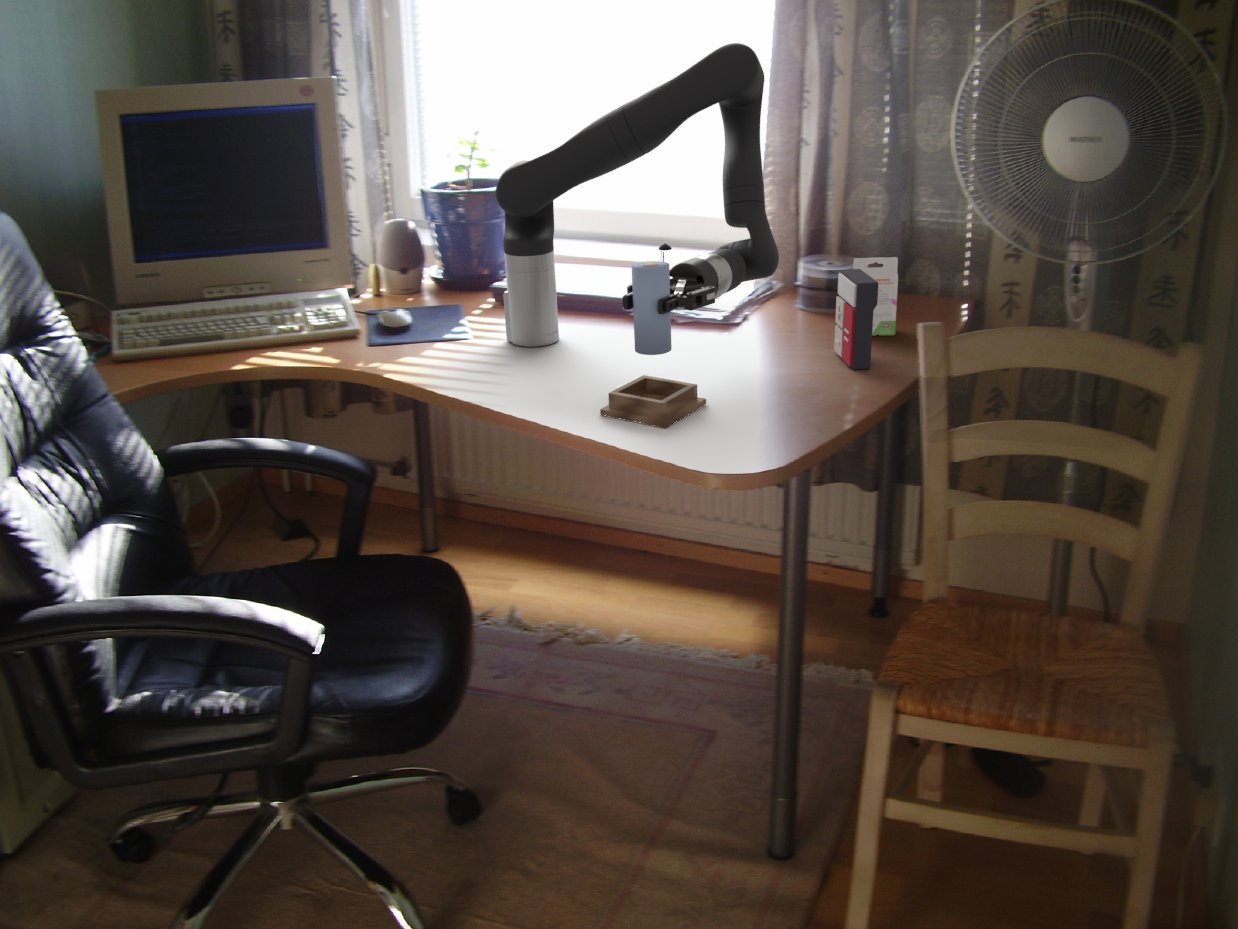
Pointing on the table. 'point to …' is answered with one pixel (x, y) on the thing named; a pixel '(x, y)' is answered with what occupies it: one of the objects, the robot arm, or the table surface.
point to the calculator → (855, 317)
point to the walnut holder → (653, 401)
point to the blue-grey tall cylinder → (651, 307)
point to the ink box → (882, 292)
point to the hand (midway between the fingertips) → (642, 305)
